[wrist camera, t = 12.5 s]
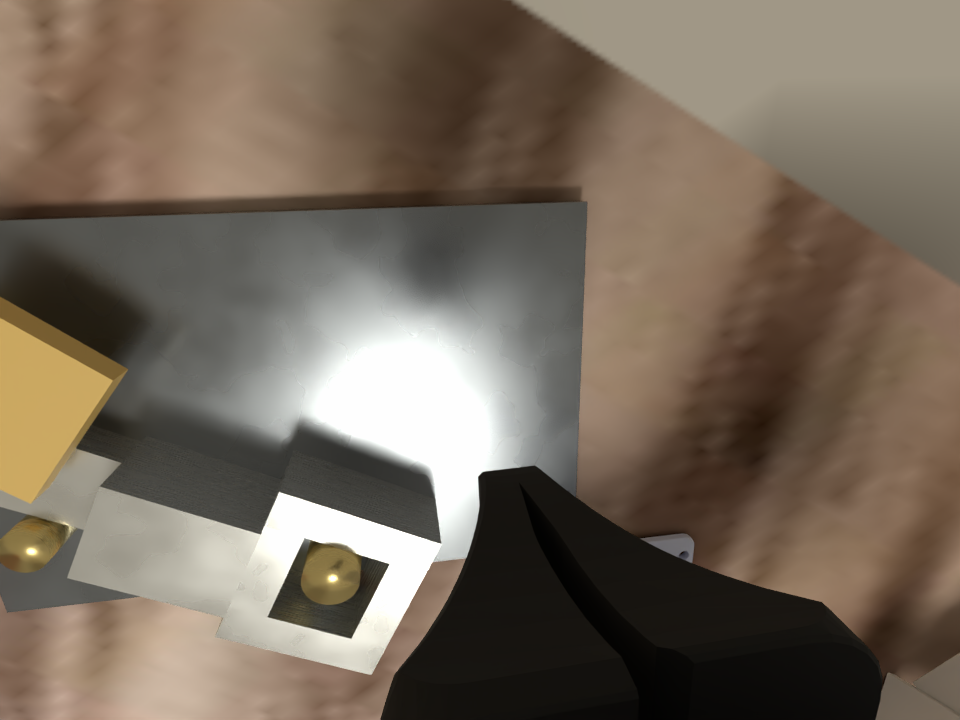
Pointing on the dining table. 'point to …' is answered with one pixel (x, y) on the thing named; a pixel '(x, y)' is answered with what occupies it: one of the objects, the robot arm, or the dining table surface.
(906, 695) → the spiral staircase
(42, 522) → the post
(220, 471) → the link
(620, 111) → the dining table surface
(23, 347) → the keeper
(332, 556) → the cylinder
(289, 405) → the plate
